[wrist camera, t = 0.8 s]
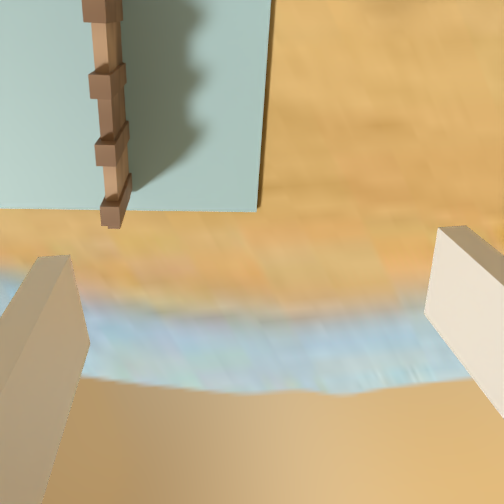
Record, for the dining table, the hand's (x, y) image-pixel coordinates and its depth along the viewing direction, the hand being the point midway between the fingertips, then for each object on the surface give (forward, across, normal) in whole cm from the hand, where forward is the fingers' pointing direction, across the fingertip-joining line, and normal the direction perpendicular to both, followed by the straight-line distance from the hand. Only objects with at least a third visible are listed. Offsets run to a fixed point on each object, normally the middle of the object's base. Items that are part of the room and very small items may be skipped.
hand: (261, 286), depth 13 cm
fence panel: (+17, -6, +2) cm, 18 cm away
